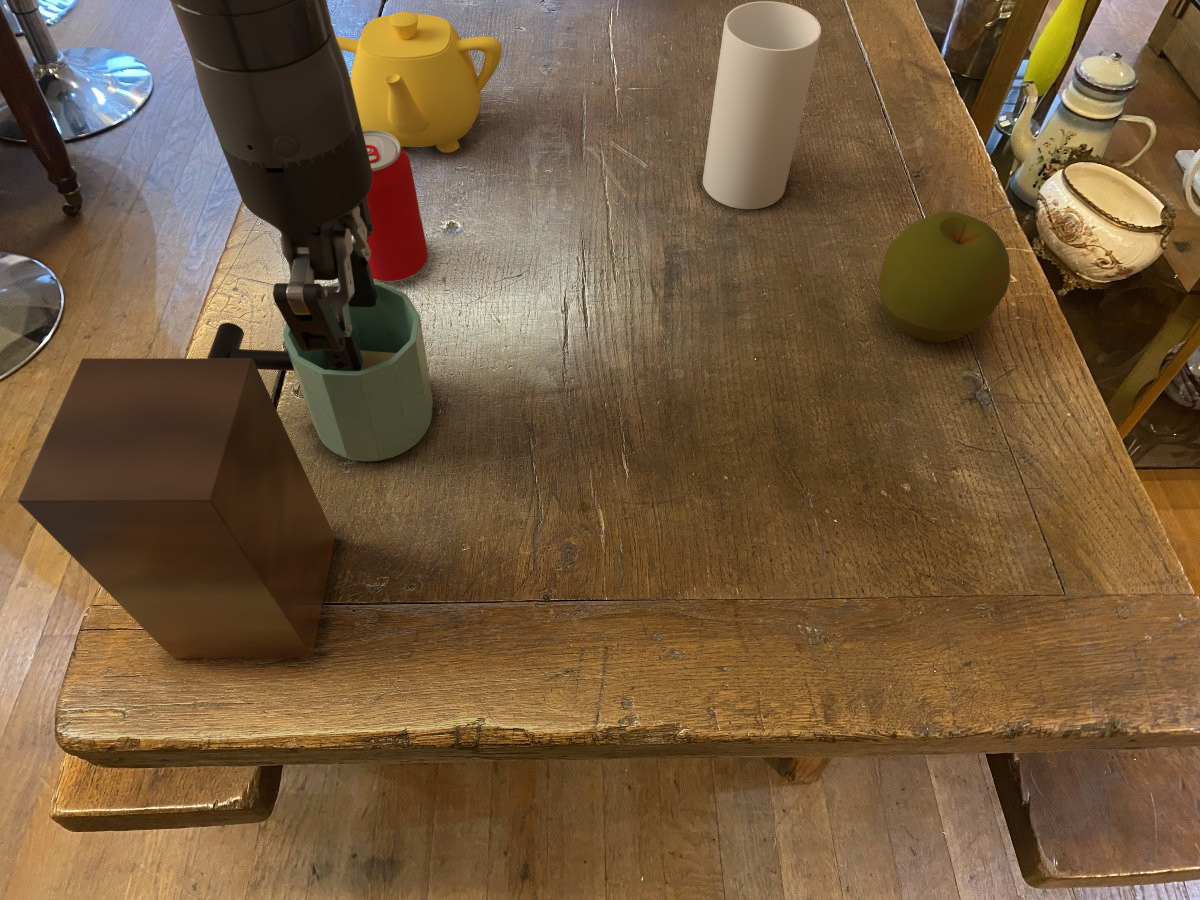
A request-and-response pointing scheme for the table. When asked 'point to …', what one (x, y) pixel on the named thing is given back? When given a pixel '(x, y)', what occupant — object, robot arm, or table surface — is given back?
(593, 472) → the table surface
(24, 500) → the block
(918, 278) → the apple
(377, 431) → the mug
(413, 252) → the beverage can
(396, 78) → the teapot
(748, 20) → the cup
